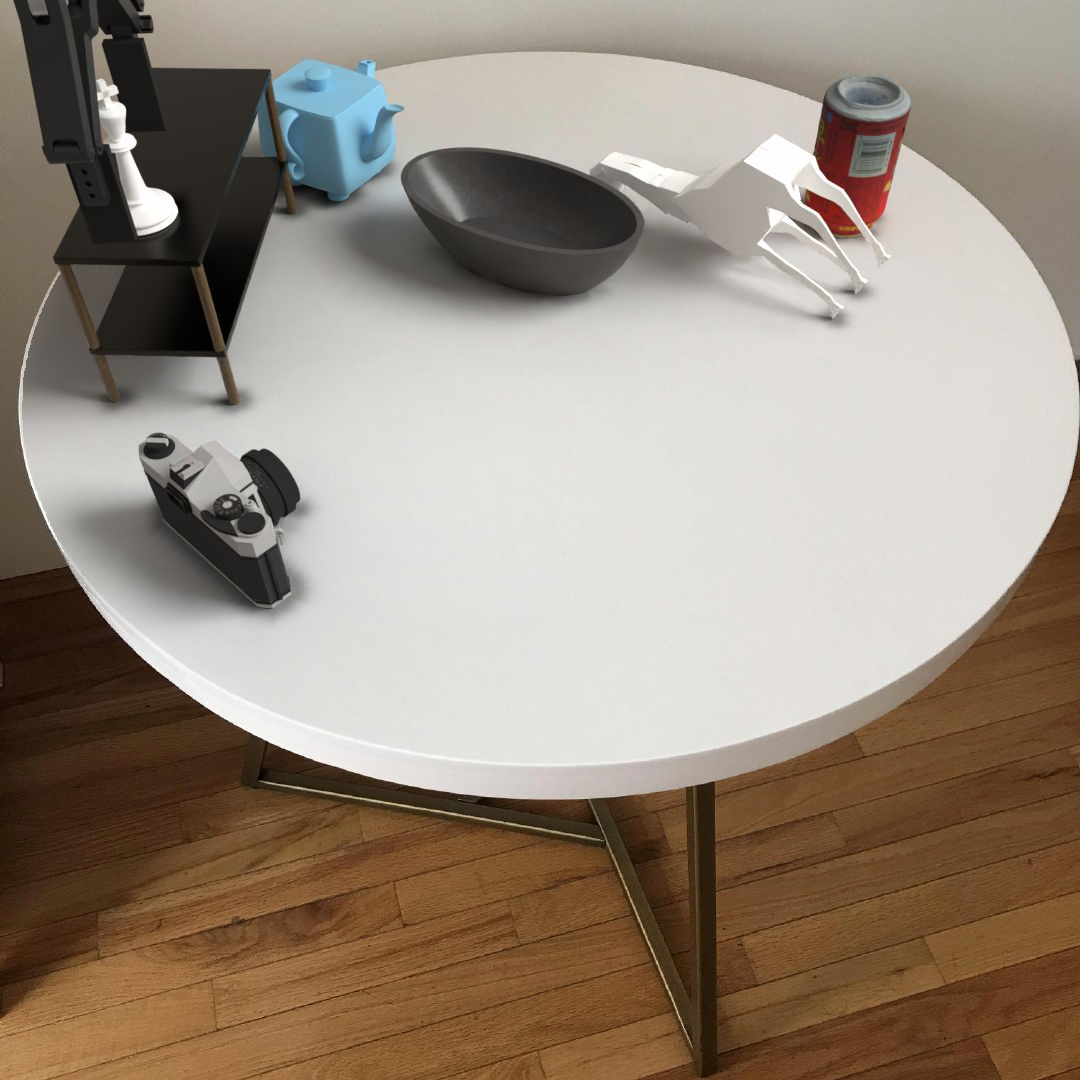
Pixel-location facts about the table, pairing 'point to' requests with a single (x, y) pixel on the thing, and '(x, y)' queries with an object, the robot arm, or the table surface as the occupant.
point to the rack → (188, 225)
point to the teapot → (331, 126)
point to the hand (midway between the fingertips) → (132, 181)
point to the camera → (226, 509)
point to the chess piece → (133, 168)
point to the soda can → (859, 148)
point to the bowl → (523, 218)
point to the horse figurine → (747, 203)
